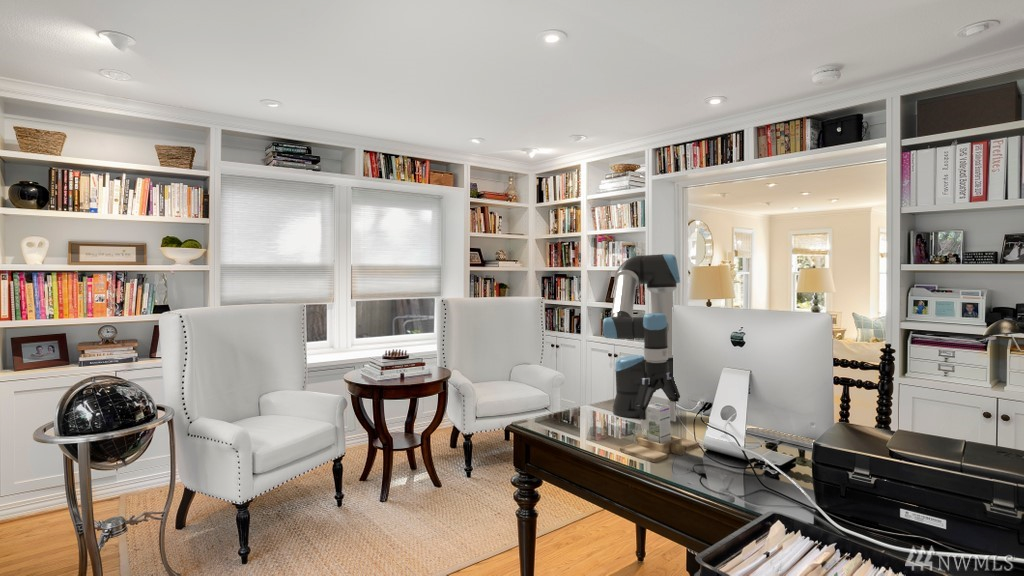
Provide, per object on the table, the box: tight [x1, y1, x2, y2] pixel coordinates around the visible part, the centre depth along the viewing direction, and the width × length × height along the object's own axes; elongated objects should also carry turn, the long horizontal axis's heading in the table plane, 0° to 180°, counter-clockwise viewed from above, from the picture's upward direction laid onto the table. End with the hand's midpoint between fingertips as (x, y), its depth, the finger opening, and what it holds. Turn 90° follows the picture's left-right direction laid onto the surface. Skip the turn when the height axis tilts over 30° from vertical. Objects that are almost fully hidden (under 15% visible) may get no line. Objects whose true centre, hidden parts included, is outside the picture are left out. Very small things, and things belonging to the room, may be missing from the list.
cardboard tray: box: [619, 433, 700, 463], centre depth 176 cm, size 18×23×4 cm
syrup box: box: [646, 402, 672, 444], centre depth 176 cm, size 6×6×14 cm
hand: (658, 424), depth 176 cm, fingers open, 13 cm apart
